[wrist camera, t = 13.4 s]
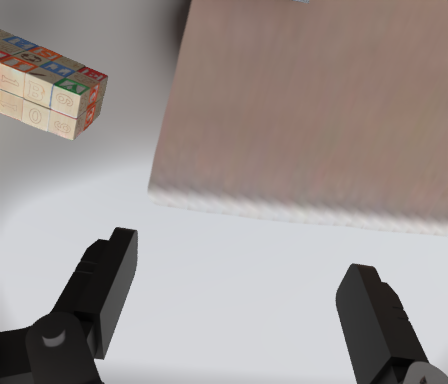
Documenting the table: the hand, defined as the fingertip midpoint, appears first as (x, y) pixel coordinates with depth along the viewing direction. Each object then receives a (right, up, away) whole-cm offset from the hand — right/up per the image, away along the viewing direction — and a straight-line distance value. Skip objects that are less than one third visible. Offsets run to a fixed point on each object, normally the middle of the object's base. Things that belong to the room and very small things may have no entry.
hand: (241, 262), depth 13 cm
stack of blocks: (-27, +20, +32) cm, 47 cm away
